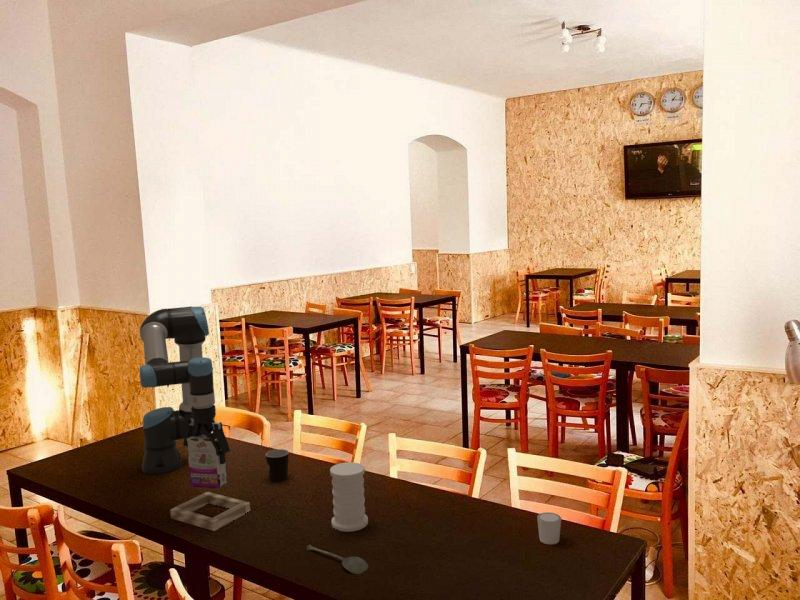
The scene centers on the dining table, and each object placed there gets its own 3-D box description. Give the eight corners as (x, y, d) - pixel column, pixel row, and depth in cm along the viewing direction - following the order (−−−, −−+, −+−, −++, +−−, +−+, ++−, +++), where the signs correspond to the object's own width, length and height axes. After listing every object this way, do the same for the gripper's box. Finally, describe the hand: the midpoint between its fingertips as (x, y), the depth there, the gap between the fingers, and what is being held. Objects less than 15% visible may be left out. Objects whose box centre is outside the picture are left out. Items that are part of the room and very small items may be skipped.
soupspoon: (356, 581, 177) (373, 571, 182) (357, 569, 177) (373, 559, 182) (300, 554, 191) (317, 546, 196) (300, 543, 191) (317, 535, 196)
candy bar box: (227, 483, 218) (224, 434, 216) (220, 489, 213) (216, 439, 211) (197, 481, 221) (194, 433, 219) (189, 486, 216) (185, 438, 214)
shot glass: (556, 547, 189) (556, 524, 188) (534, 542, 193) (533, 519, 192) (564, 537, 195) (564, 514, 194) (542, 532, 198) (542, 510, 198)
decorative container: (334, 534, 202) (332, 477, 200) (328, 518, 213) (326, 464, 211) (371, 528, 205) (369, 472, 203) (363, 512, 216) (361, 459, 214)
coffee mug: (287, 483, 243) (286, 457, 242) (264, 483, 243) (263, 457, 242) (293, 471, 254) (292, 446, 253) (271, 471, 255) (269, 446, 253)
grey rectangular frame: (171, 518, 217) (170, 509, 217) (208, 499, 230) (207, 491, 230) (214, 531, 207) (213, 522, 206) (250, 511, 220) (249, 502, 220)
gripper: (168, 404, 217) (173, 468, 220) (220, 413, 205) (225, 480, 207) (186, 399, 223) (191, 460, 226) (238, 406, 211) (242, 472, 214)
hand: (207, 470), depth 217 cm, fingers closed on candy bar box, 12 cm apart
